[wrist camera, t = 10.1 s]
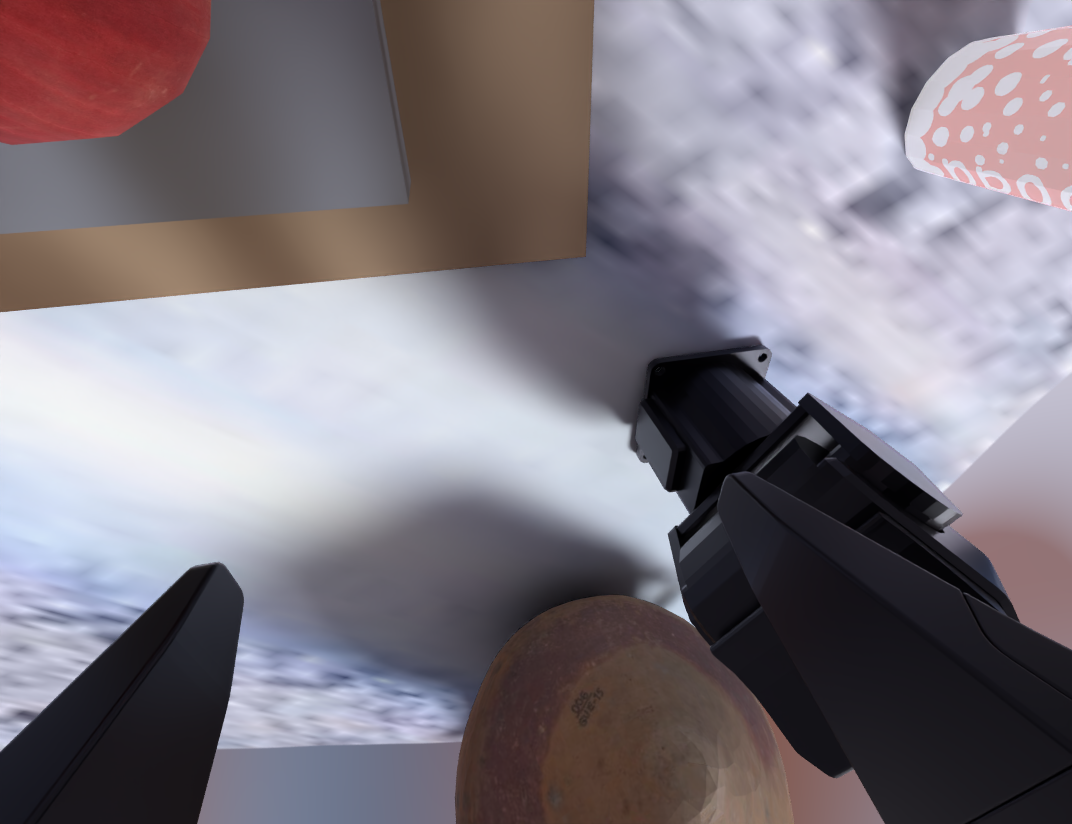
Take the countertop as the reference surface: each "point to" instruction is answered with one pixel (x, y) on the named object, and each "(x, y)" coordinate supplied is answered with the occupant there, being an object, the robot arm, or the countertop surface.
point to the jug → (616, 727)
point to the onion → (93, 64)
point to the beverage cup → (1000, 117)
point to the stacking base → (454, 210)
